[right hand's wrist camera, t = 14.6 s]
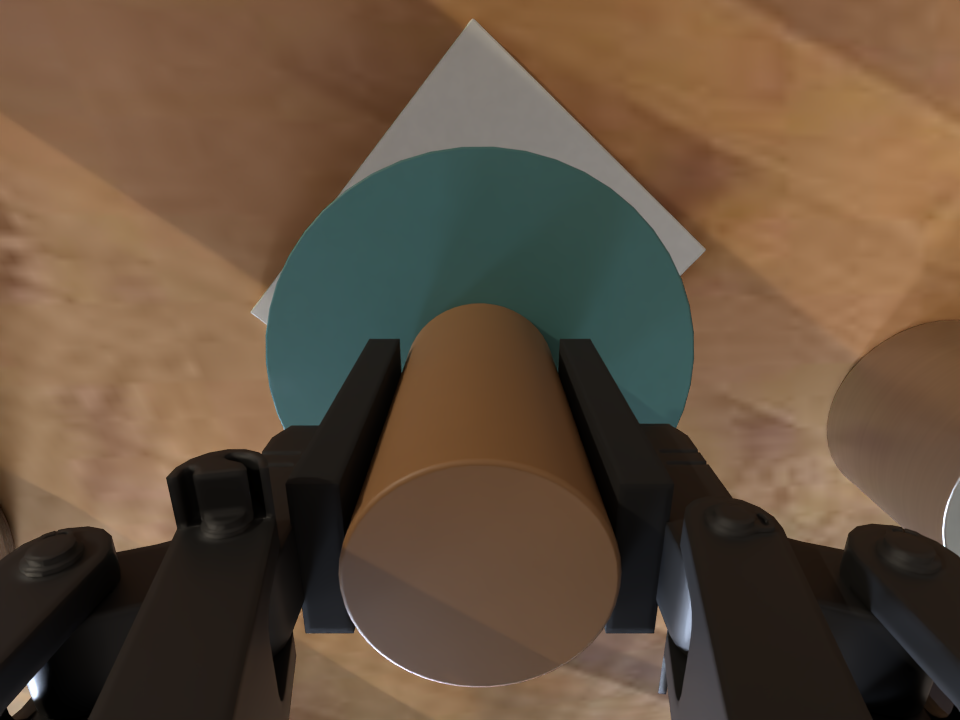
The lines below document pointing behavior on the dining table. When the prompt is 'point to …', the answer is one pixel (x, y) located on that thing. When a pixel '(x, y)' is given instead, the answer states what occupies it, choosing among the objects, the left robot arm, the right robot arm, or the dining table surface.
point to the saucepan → (906, 433)
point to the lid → (479, 397)
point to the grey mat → (505, 132)
